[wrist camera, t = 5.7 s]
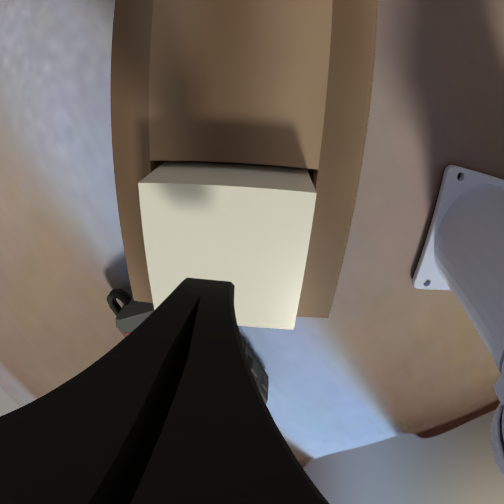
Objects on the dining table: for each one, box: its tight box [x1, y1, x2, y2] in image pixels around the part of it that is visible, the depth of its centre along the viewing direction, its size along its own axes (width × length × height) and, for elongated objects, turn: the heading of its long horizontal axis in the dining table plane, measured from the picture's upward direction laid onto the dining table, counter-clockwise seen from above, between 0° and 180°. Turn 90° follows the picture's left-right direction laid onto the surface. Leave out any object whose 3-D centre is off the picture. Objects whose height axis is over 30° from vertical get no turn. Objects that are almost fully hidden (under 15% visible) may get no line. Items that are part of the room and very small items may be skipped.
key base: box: [111, 0, 377, 318], centre depth 10 cm, size 10×27×4 cm, turn 177°
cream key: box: [138, 162, 317, 329], centre depth 13 cm, size 6×6×3 cm
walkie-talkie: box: [107, 289, 268, 404], centre depth 22 cm, size 9×4×20 cm
